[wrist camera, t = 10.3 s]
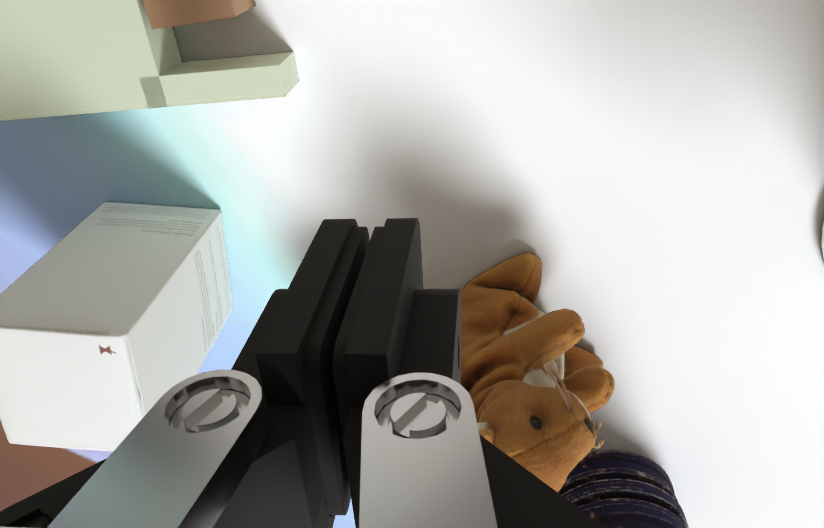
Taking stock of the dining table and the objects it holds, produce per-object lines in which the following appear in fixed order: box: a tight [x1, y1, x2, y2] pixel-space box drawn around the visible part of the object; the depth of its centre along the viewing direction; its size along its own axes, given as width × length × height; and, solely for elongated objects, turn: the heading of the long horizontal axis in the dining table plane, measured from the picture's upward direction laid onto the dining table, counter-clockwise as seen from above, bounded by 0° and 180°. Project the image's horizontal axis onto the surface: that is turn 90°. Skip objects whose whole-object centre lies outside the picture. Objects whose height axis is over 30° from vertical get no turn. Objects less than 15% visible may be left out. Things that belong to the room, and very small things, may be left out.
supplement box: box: [0, 202, 233, 452], centre depth 35 cm, size 7×7×13 cm
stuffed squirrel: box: [460, 253, 614, 492], centre depth 36 cm, size 10×14×13 cm
